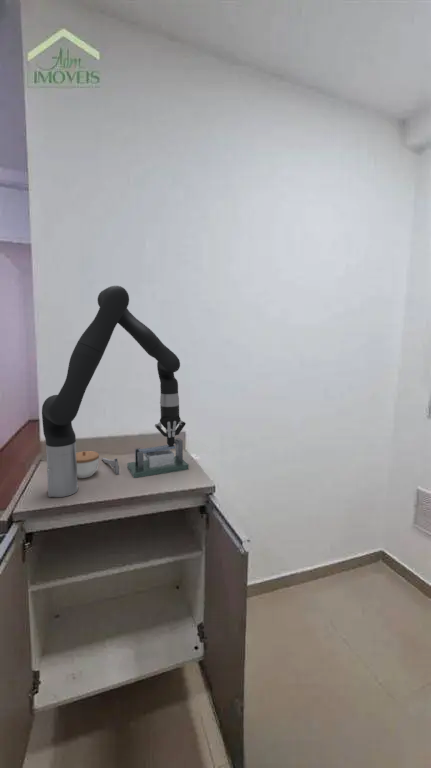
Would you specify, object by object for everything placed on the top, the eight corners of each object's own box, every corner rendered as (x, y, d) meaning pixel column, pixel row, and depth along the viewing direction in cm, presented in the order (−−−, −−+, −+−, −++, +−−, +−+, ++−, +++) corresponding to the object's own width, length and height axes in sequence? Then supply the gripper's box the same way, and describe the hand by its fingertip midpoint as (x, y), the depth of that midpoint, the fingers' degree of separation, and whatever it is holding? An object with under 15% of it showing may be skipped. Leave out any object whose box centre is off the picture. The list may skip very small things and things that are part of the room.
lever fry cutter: (133, 478, 132) (133, 449, 131) (127, 467, 143) (126, 441, 141) (188, 469, 141) (188, 442, 140) (178, 460, 152) (178, 435, 151)
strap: (140, 454, 137) (139, 451, 136) (138, 451, 139) (138, 449, 139) (175, 448, 143) (175, 446, 143) (173, 446, 145) (172, 444, 145)
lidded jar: (69, 482, 128) (68, 457, 127) (70, 471, 138) (68, 448, 137) (100, 478, 132) (99, 454, 131) (98, 468, 142) (97, 445, 141)
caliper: (119, 474, 136) (118, 459, 135) (116, 475, 135) (115, 459, 134) (103, 460, 152) (103, 446, 152) (101, 460, 152) (100, 446, 151)
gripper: (156, 407, 135) (157, 450, 137) (188, 404, 140) (189, 445, 143) (151, 404, 142) (152, 445, 144) (182, 401, 147) (183, 440, 150)
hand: (170, 445), depth 143 cm, fingers closed
